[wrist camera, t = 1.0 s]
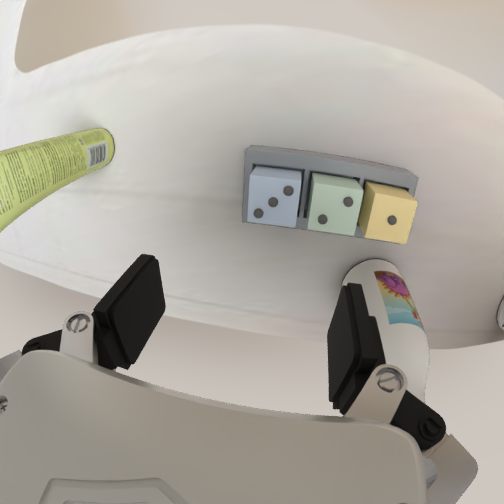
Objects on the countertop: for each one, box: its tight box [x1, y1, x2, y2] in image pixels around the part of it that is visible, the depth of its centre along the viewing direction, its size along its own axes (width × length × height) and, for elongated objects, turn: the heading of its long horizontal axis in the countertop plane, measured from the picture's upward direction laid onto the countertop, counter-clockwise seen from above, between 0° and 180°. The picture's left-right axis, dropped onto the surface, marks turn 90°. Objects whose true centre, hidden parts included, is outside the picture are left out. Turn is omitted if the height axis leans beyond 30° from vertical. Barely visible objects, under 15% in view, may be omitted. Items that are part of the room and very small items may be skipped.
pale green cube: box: [307, 173, 364, 236], centre depth 23 cm, size 4×4×4 cm
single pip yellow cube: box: [358, 181, 418, 244], centre depth 22 cm, size 4×4×4 cm
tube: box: [0, 128, 114, 232], centre depth 19 cm, size 6×5×20 cm
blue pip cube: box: [247, 166, 301, 228], centre depth 23 cm, size 4×4×4 cm
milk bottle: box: [342, 259, 430, 407], centre depth 22 cm, size 8×8×20 cm
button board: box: [242, 145, 418, 244], centre depth 25 cm, size 16×7×3 cm, turn 86°
